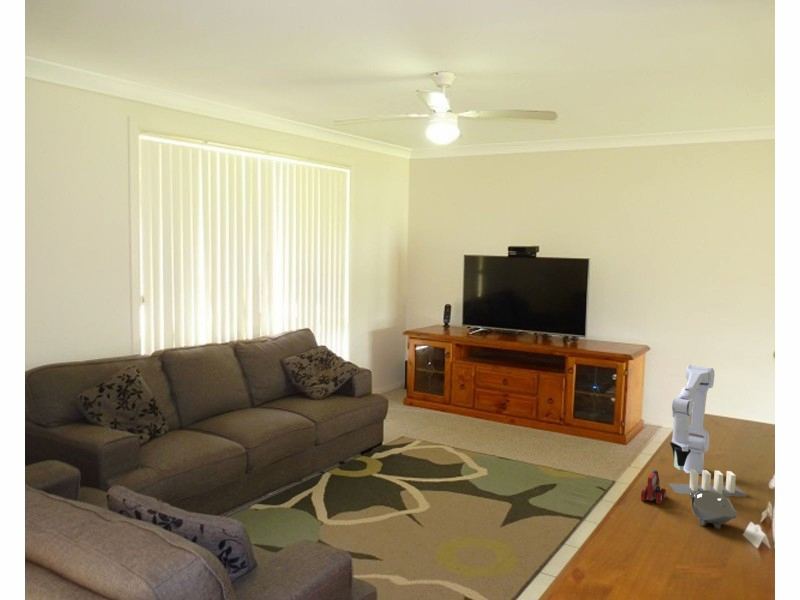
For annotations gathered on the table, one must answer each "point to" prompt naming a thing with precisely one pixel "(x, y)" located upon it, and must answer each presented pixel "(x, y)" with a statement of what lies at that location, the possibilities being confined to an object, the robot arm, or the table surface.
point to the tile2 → (694, 480)
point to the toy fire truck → (653, 489)
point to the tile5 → (730, 482)
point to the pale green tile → (677, 463)
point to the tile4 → (718, 481)
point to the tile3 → (706, 480)
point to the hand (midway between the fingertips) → (679, 463)
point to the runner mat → (687, 490)
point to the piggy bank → (712, 507)
